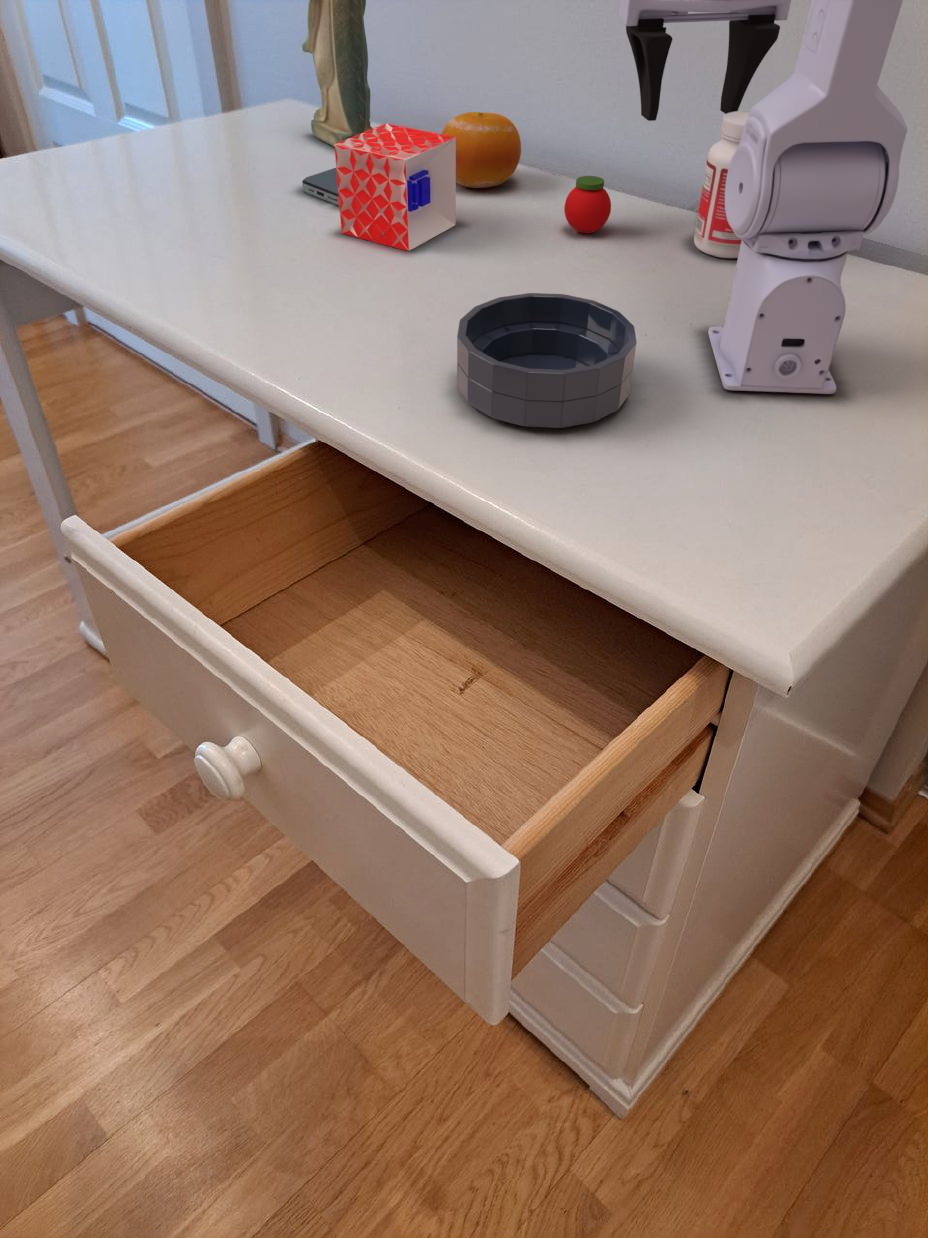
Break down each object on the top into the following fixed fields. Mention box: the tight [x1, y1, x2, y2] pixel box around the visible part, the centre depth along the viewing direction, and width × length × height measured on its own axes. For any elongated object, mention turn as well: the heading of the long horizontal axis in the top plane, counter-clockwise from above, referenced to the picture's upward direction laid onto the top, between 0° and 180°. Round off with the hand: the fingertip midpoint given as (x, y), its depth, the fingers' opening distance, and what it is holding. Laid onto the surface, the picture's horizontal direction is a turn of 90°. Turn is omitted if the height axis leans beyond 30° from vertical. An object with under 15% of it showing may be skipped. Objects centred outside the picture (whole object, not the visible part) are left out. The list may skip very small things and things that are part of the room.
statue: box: [301, 0, 373, 148], centre depth 102 cm, size 7×8×25 cm
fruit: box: [441, 111, 522, 189], centre depth 97 cm, size 8×8×8 cm
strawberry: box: [563, 175, 612, 234], centre depth 88 cm, size 4×4×5 cm
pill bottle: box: [693, 110, 750, 259], centre depth 83 cm, size 6×6×11 cm
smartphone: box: [301, 167, 339, 207], centre depth 98 cm, size 8×2×15 cm
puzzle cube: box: [334, 123, 457, 252], centre depth 87 cm, size 8×8×8 cm
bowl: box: [456, 292, 637, 429], centre depth 65 cm, size 12×12×4 cm
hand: (688, 115), depth 83 cm, fingers open, 7 cm apart
